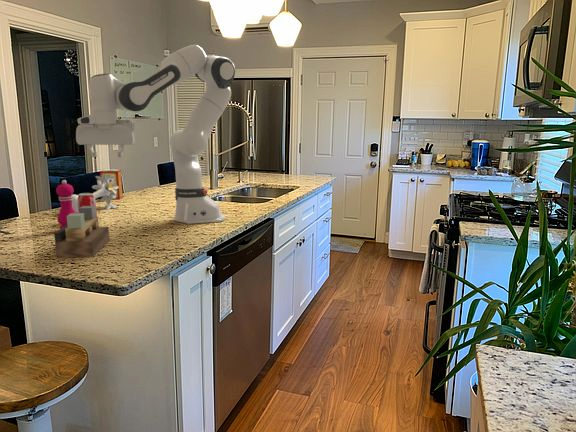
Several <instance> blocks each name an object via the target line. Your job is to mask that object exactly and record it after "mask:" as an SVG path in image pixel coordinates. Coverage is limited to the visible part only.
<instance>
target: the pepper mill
mask: <svg viewBox="0 0 576 432" xmlns="http://www.w3.org/2000/svg"><path fill="white" fill-rule="evenodd" d="M55 190H56V192H55V193H56V195H58V201H59V203H60V210H59V213H58V215H57V222H58V223H59V225H60V226H59V230H60V229H61V228H63V227H64V226H66V225H67V216H68V215H69V214H74V213H76V212H75V211H74V209H73V207H72V200H73V198H72V197H73V196H72V195H73V194H74V191H75V190H74V187H73V185H72V184H69V183H67V180H66V179H63V180H62V181H61V184H58V185H57V187H56V189H55Z"/></svg>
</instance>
